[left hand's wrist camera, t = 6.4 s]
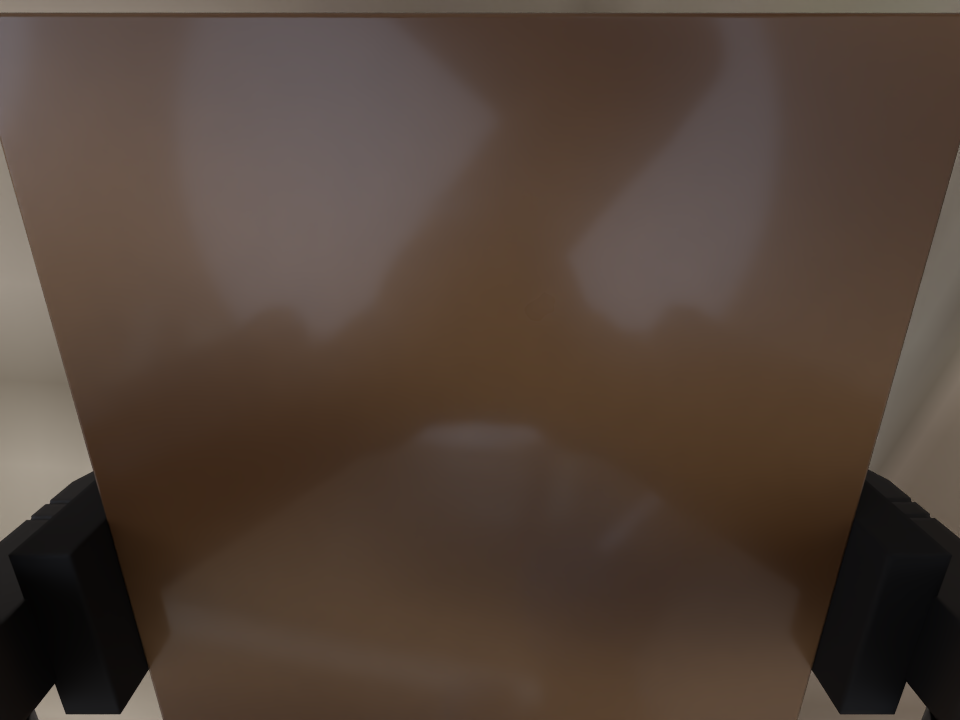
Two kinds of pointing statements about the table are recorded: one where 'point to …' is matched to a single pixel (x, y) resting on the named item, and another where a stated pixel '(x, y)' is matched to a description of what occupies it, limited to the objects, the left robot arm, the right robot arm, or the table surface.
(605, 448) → the narrow beam
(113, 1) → the table surface
